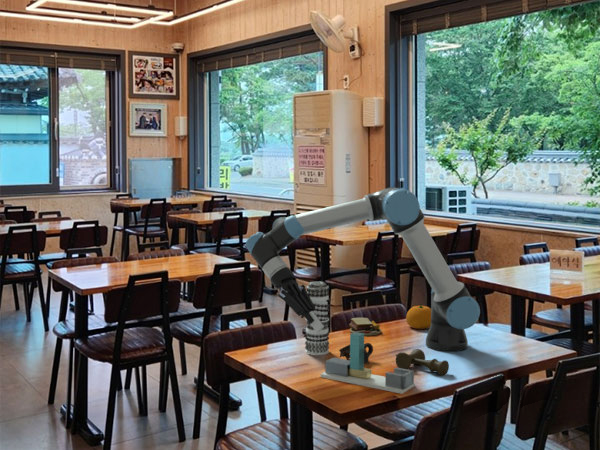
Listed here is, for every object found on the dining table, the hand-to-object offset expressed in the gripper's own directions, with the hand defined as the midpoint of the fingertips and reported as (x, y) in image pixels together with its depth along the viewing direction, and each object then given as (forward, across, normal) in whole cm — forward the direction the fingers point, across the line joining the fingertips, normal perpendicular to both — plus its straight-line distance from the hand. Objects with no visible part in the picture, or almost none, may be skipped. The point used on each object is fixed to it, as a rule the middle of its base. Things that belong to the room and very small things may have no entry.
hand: (320, 329), depth 239 cm
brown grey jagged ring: (+13, -18, -8) cm, 23 cm away
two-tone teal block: (+17, -1, -1) cm, 17 cm away
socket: (+30, -1, +10) cm, 31 cm away
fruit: (+10, -75, -10) cm, 76 cm away
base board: (+21, -1, +2) cm, 21 cm away
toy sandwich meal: (0, -55, -21) cm, 59 cm away
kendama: (+28, -22, +7) cm, 36 cm away
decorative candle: (0, -20, -20) cm, 28 cm away
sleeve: (+15, -1, -5) cm, 16 cm away
